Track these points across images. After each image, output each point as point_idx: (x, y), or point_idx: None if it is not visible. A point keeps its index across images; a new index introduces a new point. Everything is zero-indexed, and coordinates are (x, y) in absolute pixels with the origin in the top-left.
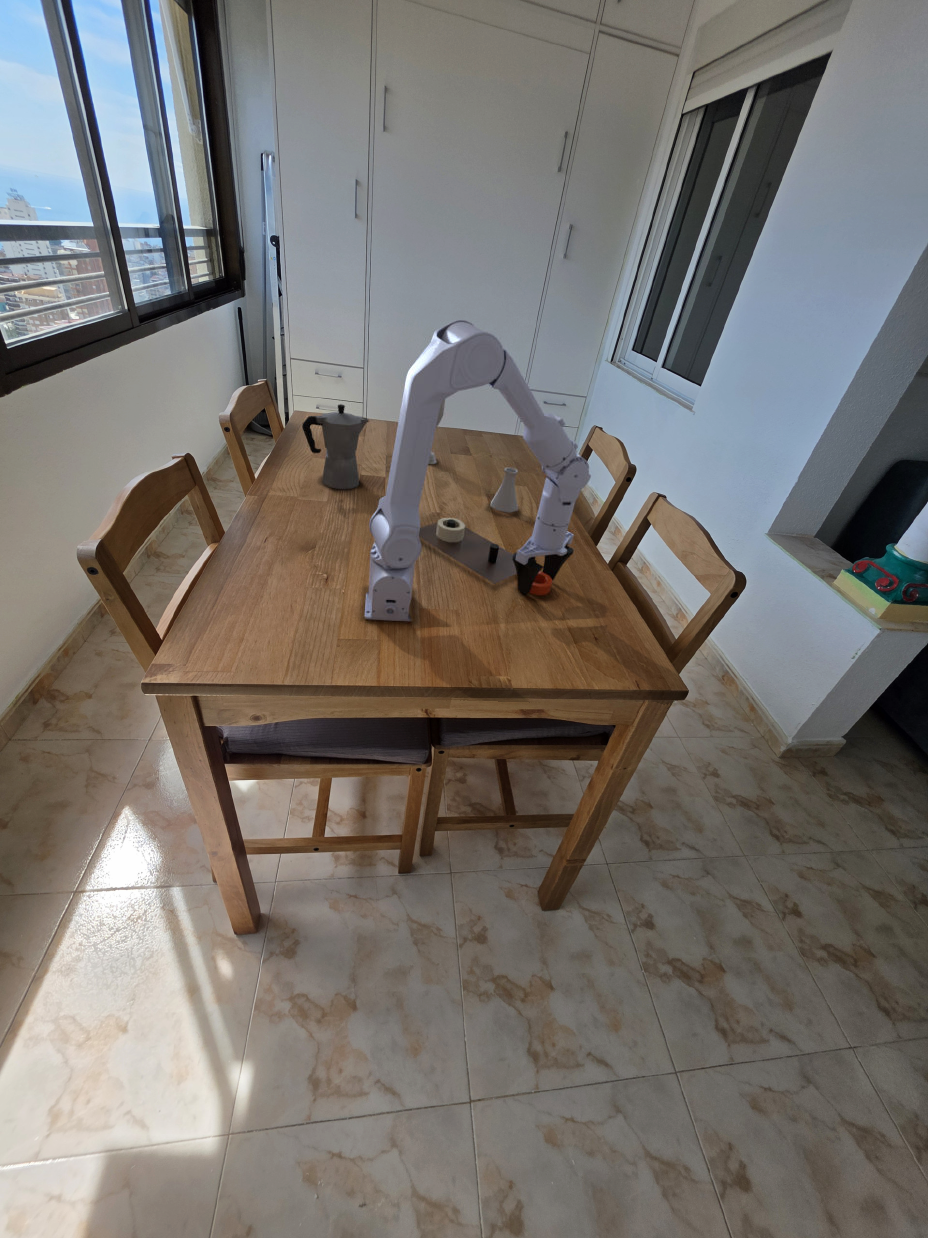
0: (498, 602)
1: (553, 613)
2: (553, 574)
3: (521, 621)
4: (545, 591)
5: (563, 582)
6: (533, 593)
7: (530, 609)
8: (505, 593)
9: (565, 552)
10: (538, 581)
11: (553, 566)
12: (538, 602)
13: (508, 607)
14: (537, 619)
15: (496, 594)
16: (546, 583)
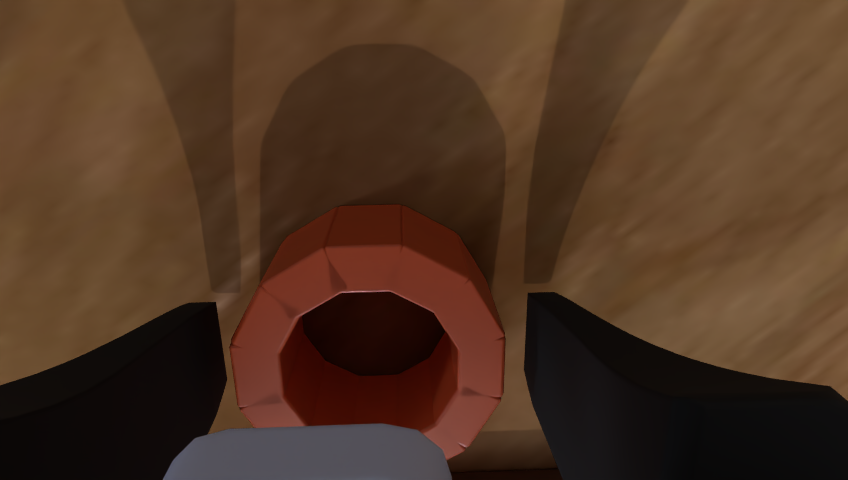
0: (712, 349)
1: (499, 24)
2: (184, 336)
3: (796, 109)
4: (405, 226)
5: (50, 264)
6: (478, 274)
7: (606, 171)
8: None
9: (265, 461)
10: (299, 360)
11: (153, 403)
12: (474, 196)
13: (712, 276)
14: (679, 51)
15: None
16: (366, 278)
